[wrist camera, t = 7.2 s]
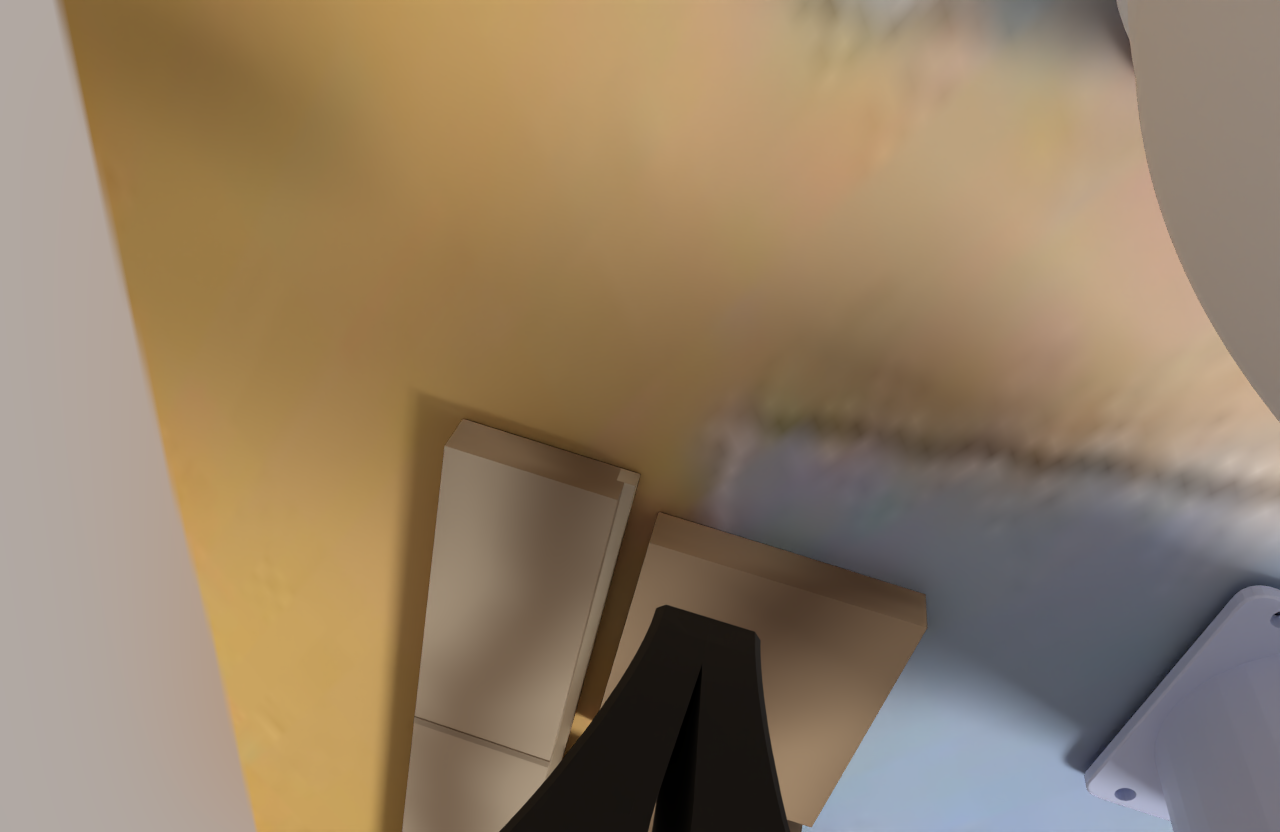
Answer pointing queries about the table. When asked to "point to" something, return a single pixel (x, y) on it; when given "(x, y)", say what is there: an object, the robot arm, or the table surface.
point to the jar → (1218, 160)
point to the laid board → (508, 622)
